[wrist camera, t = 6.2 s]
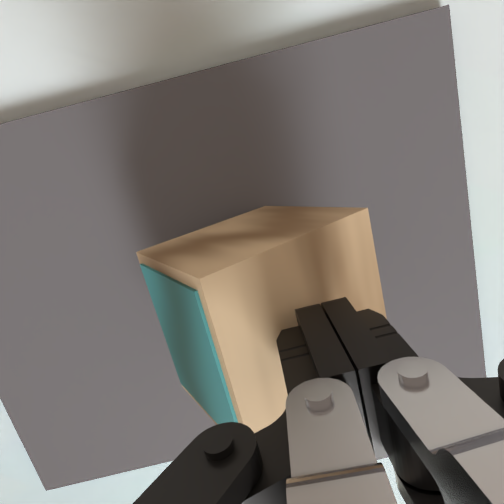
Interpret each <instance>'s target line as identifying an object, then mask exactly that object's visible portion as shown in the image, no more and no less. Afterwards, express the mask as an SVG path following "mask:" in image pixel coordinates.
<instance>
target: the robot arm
mask: <svg viewBox="0 0 504 504" xmlns="http://www.w3.org/2000/svg"><path fill="white" fill-rule="evenodd" d="M295 314H296V318H297V323H298V326H296V327H291V328H287V329H283V330H281V332H280V334H279V336H278V338H277V340H276V342H277V347H278V351H279V356H280V361H281V366H282V370H283V375H284V380H285V384H286V389H287V394H288V396H287V399H286V409H285V411H284V412H283V414H282V415H281V416H280V417H279V418H278V419H277V420H276V421H275V422H273V423H272V424H271V425H269V426H267V427H265V428H263V429H261V430H260V431H258V432H256V433H254V432H253V431H252V429H251V428H250V427H248V426H247V425H244V424H242V423H237V422H226V423H221V424H217V425H214V426H212V427H210V428H208V429H206V430H205V431H203V432H202V433H200V434H199V435H198V436H197V437H196V438H195V439H194V440H193V441H192V442H191V443H190V444H189V445H188V446H187V447H186V448H185V449H184V450H183V451H182V452H181V453H180V454H179V455H178V456H177V458H176V459H175V460H174V461H173V462H172V463H171V464H170V465H169V466H168V467H167V468H166V469H165V470H164V471H163V472H162V473H161V474H160V476H159V477H158V478H157V479H156V480H155V481H154V482H153V483H152V484H151V485H150V486H149V487H148V488H147V489H146V490H145V491H144V492H143V493H142V495H141V496H140V497H139V498H138V499H137V500H136V501H135V502H134V503H133V504H397V501H396V499H395V496H394V493H393V490H392V488H391V485H390V482H389V479H388V477H387V474H386V471H385V469H384V467H383V465H382V463H377V460H378V459H382V458H387V457H389V459H390V461H391V463H392V465H393V467H394V472H395V478H396V483H397V487H398V490H399V492H400V494H401V495H402V497H403V499H404V501H405V502H406V504H504V359H503V360H502V361H501V362H500V364H499V366H498V377H492V378H461V377H456V376H455V375H454V374H453V373H452V372H451V371H450V370H448V369H447V368H446V367H445V366H444V365H442V364H441V363H439V362H437V361H435V360H432V359H428V358H423V357H419V356H418V355H417V354H416V353H415V352H414V350H413V349H412V348H411V347H410V346H409V345H408V343H407V342H406V341H405V340H404V339H403V338H402V337H401V335H400V334H399V333H397V331H396V330H395V328H394V327H393V326H392V325H390V323H389V322H388V320H387V319H386V318H385V317H384V316H383V315H382V314H380V313H378V312H375V311H373V310H371V309H365V310H361V311H356V310H355V309H354V307H353V306H352V305H351V303H350V302H349V301H348V299H347V298H346V297H343V298H339V299H335V300H331V301H327V302H322V303H321V306H320V304H315V305H311V306H307V307H302V308H298V309H295Z"/></svg>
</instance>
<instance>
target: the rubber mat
mask: <svg viewBox="0 0 504 504" xmlns="http://www.w3.org/2000/svg"><path fill="white" fill-rule="evenodd" d="M263 206H299V207H355V208H368V212H369V218H370V223H371V229H372V235H373V241H374V247H375V253H376V259H377V264H378V270H379V276H380V282H381V288H382V294H383V299H384V305H385V311H386V317H387V320H388V322H389V323H390V325H392V326H393V327H394V328H395V330H396V331H397V333H399V334H400V335H401V337H402V338H403V339H404V340H405V341H406V342H407V343H408V345H409V346H410V347H411V348H412V349H413V350H414V352H415V353H416V354H417V355H418V356H419V357H423V358H428V359H432V360H435V361H437V362H439V363H441V364H442V365H444V366H445V367H446V368H447V369H448V370H450V371H451V372H452V373H453V374H454V375H455V376H456V377H461V378H486V371H485V361H484V350H483V340H482V330H481V320H480V310H479V300H478V290H477V280H476V270H475V260H474V250H473V240H472V230H471V220H470V210H469V200H468V190H467V180H466V170H465V160H464V150H463V140H462V129H461V119H460V109H459V99H458V89H457V79H456V69H455V59H454V49H453V39H452V29H451V19H450V9H449V5H446V6H442V7H438V8H435V9H431V10H427V11H423V12H420V13H416V14H412V15H408V16H405V17H401V18H397V19H393V20H390V21H386V22H382V23H378V24H375V25H371V26H367V27H363V28H360V29H356V30H352V31H348V32H344V33H341V34H337V35H333V36H329V37H326V38H322V39H318V40H314V41H311V42H307V43H303V44H299V45H296V46H292V47H288V48H284V49H281V50H277V51H273V52H269V53H266V54H262V55H258V56H254V57H250V58H247V59H243V60H239V61H235V62H232V63H228V64H224V65H220V66H217V67H213V68H209V69H205V70H202V71H198V72H194V73H190V74H187V75H183V76H179V77H175V78H172V79H168V80H164V81H160V82H156V83H153V84H149V85H145V86H141V87H138V88H134V89H130V90H126V91H123V92H119V93H115V94H111V95H108V96H104V97H100V98H96V99H93V100H89V101H85V102H81V103H78V104H74V105H70V106H66V107H63V108H59V109H55V110H51V111H47V112H44V113H40V114H36V115H32V116H29V117H25V118H21V119H17V120H14V121H10V122H6V123H2V124H0V399H1V401H2V403H3V405H4V407H5V409H6V411H7V413H8V415H9V417H10V419H11V421H12V423H13V425H14V427H15V429H16V431H17V433H18V435H19V437H20V439H21V441H22V443H23V445H24V447H25V449H26V451H27V453H28V455H29V457H30V459H31V461H32V463H33V465H34V467H35V469H36V471H37V474H38V476H39V478H40V480H41V482H42V484H43V486H44V488H45V490H46V491H47V490H51V489H55V488H59V487H64V486H68V485H72V484H76V483H80V482H85V481H89V480H93V479H97V478H101V477H106V476H110V475H114V474H118V473H122V472H127V471H131V470H135V469H139V468H143V467H148V466H152V465H156V464H160V463H164V462H169V461H173V460H175V459H176V458H177V456H178V455H179V454H180V453H181V452H182V451H183V450H184V449H185V448H186V447H187V446H188V445H189V444H190V443H191V442H192V441H193V440H194V439H195V438H196V437H197V436H198V435H199V434H200V433H202V432H203V431H205V430H206V429H208V428H210V427H212V426H214V425H216V424H215V422H214V421H213V420H212V419H211V418H210V417H209V416H208V415H207V414H206V412H205V411H204V410H203V409H202V408H201V407H200V406H199V405H198V404H197V402H196V401H195V400H194V399H193V398H192V397H191V396H190V395H189V394H188V392H187V391H186V390H185V389H184V388H183V387H182V385H181V383H180V380H179V377H178V374H177V371H176V369H175V366H174V363H173V360H172V357H171V354H170V351H169V348H168V345H167V342H166V339H165V337H164V334H163V331H162V328H161V325H160V322H159V319H158V316H157V313H156V310H155V308H154V305H153V302H152V299H151V296H150V293H149V290H148V287H147V284H146V281H145V279H144V276H143V273H142V270H141V267H140V263H139V260H138V257H137V254H136V252H138V251H140V250H143V249H146V248H149V247H152V246H154V245H157V244H160V243H163V242H166V241H168V240H171V239H174V238H177V237H180V236H182V235H185V234H188V233H191V232H194V231H196V230H199V229H202V228H205V227H207V226H210V225H213V224H216V223H219V222H221V221H224V220H227V219H230V218H233V217H235V216H238V215H241V214H244V213H247V212H249V211H252V210H255V209H258V208H261V207H263Z"/></svg>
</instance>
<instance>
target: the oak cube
mask: <svg viewBox="0 0 504 504" xmlns="http://www.w3.org/2000/svg"><path fill="white" fill-rule="evenodd" d="M136 254H137V257H138V260H139V263H140V267H141V270H142V273H143V276H144V279H145V281H146V284H147V287H148V290H149V293H150V296H151V299H152V302H153V305H154V308H155V310H156V313H157V316H158V319H159V322H160V325H161V328H162V331H163V334H164V337H165V339H166V342H167V345H168V348H169V351H170V354H171V357H172V360H173V363H174V366H175V369H176V371H177V374H178V377H179V380H180V383H181V385H182V387H183V388H184V389H185V390H186V391H187V392H188V394H189V395H190V396H191V397H192V398H193V399H194V400H195V401H196V402H197V404H198V405H199V406H200V407H201V408H202V409H203V410H204V411H205V412H206V414H207V415H208V416H209V417H210V418H211V419H212V420H213V421H214V422H215V424H216V425H217V424H221V423H226V422H237V423H242V424H244V425H247V426H248V427H250V428H251V429H252V431H253V432H254V433H256V432H258V431H260V430H261V429H263V428H265V427H267V426H269V425H271V424H272V423H273V422H275V421H276V420H277V419H278V418H279V417H280V416H281V415H282V414H283V412H284V411H285V409H286V399H287V396H288V394H287V389H286V384H285V380H284V375H283V370H282V366H281V361H280V356H279V351H278V347H277V342H276V340H277V338H278V336H279V334H280V332H281V330H283V329H287V328H291V327H296V326H298V323H297V318H296V314H295V309H298V308H302V307H307V306H311V305H315V304H320V306H321V303H322V302H327V301H331V300H335V299H339V298H343V297H346V298H347V299H348V301H349V302H350V303H351V305H352V306H353V307H354V309H355V310H356V311H361V310H365V309H371V310H373V311H375V312H378V313H380V314H382V315H383V316H384V317H385V318H386V319H387V317H386V311H385V305H384V299H383V294H382V288H381V282H380V276H379V270H378V264H377V259H376V253H375V247H374V241H373V235H372V229H371V223H370V218H369V212H368V208H355V207H299V206H263V207H261V208H258V209H255V210H252V211H249V212H247V213H244V214H241V215H238V216H235V217H233V218H230V219H227V220H224V221H221V222H219V223H216V224H213V225H210V226H207V227H205V228H202V229H199V230H196V231H194V232H191V233H188V234H185V235H182V236H180V237H177V238H174V239H171V240H168V241H166V242H163V243H160V244H157V245H154V246H152V247H149V248H146V249H143V250H140V251H138V252H136Z"/></svg>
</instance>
